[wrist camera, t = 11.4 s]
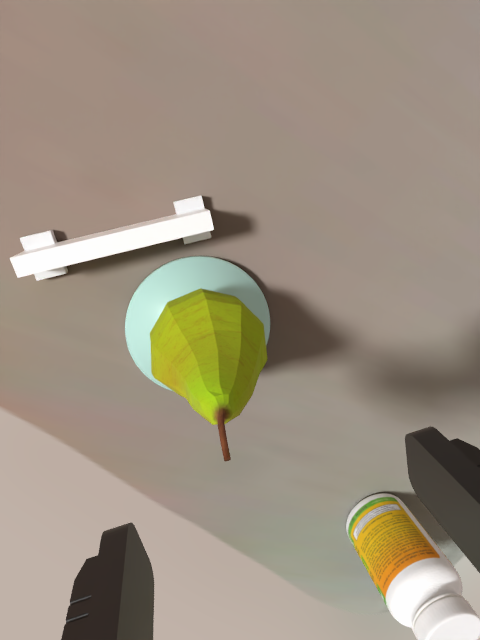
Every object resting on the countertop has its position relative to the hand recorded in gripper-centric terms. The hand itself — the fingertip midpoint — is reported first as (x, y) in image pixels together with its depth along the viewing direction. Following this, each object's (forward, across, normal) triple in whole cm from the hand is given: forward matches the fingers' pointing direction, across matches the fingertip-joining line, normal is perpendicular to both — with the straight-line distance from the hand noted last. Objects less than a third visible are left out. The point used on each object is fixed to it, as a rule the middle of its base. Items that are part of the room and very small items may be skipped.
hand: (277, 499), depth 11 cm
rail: (+15, +4, -6) cm, 17 cm away
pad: (+15, +1, 0) cm, 15 cm away
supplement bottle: (+15, -9, +21) cm, 27 cm away
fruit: (+15, +1, 0) cm, 15 cm away
